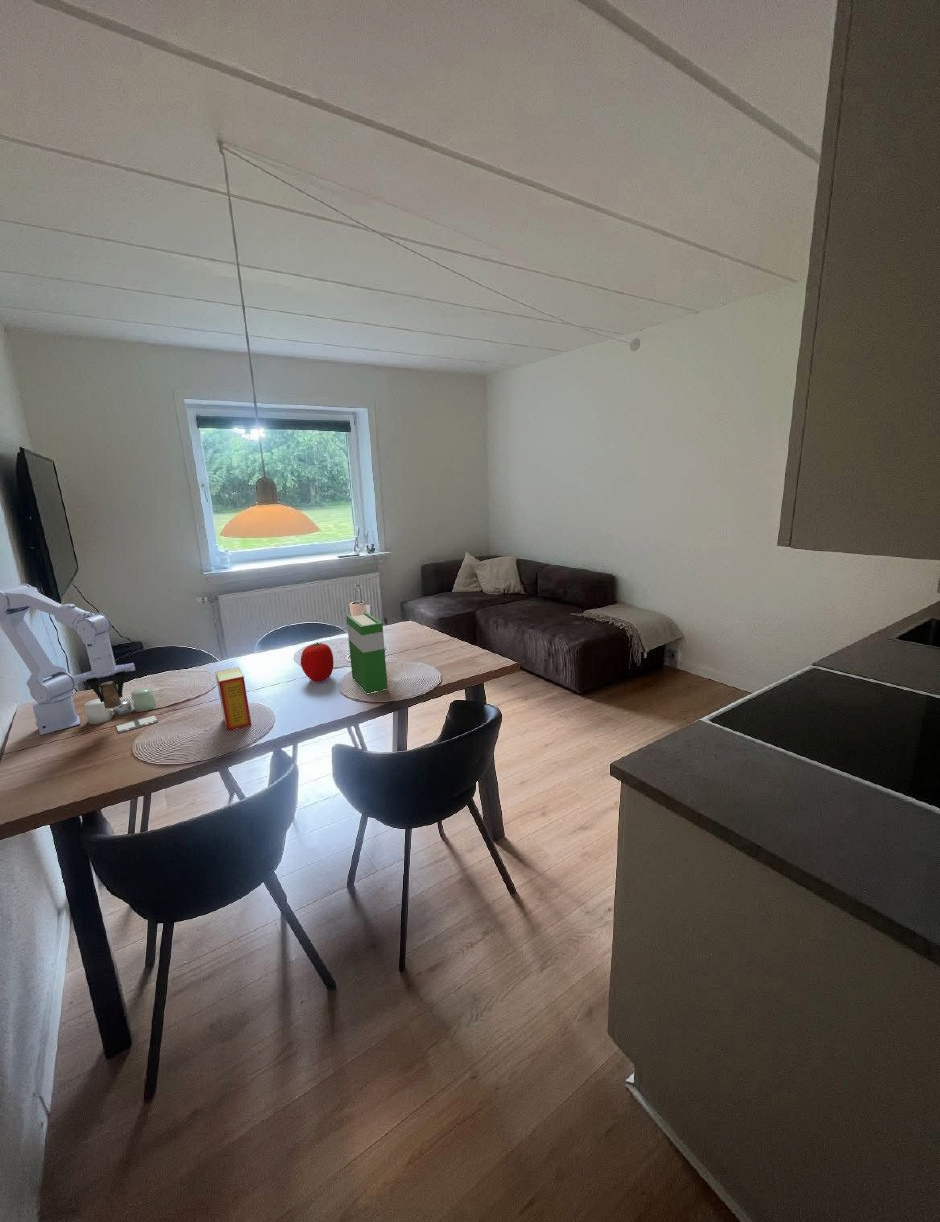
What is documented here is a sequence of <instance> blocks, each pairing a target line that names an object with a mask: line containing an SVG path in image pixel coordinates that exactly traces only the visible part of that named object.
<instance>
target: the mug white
mask: <svg viewBox="0 0 940 1222" xmlns="http://www.w3.org/2000/svg"><path fill="white" fill-rule="evenodd" d="M84 709H85V712H86V718H87V720H88V724H90V725H100V724H102V723H106V722H108V721H110V720H112V719H113V714H112V708H105V706H104V702H101V701H100V699H99V698H95V699H92V700H89V701H87V702H85V704H84Z"/></svg>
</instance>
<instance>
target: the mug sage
mask: <svg viewBox="0 0 940 1222" xmlns="http://www.w3.org/2000/svg"><path fill="white" fill-rule="evenodd" d="M130 694H131V695H130V696H131V700H132V703H133V708H134V711H135V712H137V713H141V712H148V711H150V710H152V709H154V708H155V707H157V702H156V698H155V694H154V689H153V687H150V686H145V687H139V688H137V689H135V690H133V691H131V693H130Z"/></svg>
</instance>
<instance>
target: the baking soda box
mask: <svg viewBox="0 0 940 1222" xmlns="http://www.w3.org/2000/svg"><path fill="white" fill-rule="evenodd" d="M214 673H215V677H216V683H217V688H218V689H217V690H218V694H219V696H218V697H219V701H220V707H221V713H222V717H223V721H224V725H225V727H226V730H227V732H230V731H229V730H231V731H234V730H233V729H235V730H237V729H236V728H238V729H242V728H245V726H246V727H249V726H248V725H250V726H252V719H251V713H250V706H249V701H248V695H247V689H246V681H245V677H244V674H243V672H242V671H241V668H240V667H239V666H237V667H233V668H232V667H231V668H227V669H224V670H217V671H215V672H214Z"/></svg>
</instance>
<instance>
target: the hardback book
mask: <svg viewBox="0 0 940 1222" xmlns="http://www.w3.org/2000/svg"><path fill="white" fill-rule="evenodd" d="M345 619H346V626H347V636H348V637H347V638H348V645H349V646H348V647H349V658H350V667H351V668H350V669H351V677H352V679H353V680H354V679H355V680H354V681H355V683H356V682H357V683H358V684H359V685H360V686H361V687H362V688H363V690H364V691H365V692H366V693H371V692H374V691H381V690H383V689H387V688H389V686H388V685H389V684H388V676H387V664H386V663H387V661H386V652H385V649H386V648H385V640H384V639H385V637H384V624H383V622H381V621H380V620H378V619H377V618H376V617H374V616H372V615H371V614H370V613H368V612H367V611H365V612H363V614H361V615H355V616H351V615H350V614H346V617H345ZM357 683H356V684H357ZM358 684H357V685H358ZM359 685H358V686H359ZM360 686H359V687H360ZM361 687H360V688H361ZM362 688H361V689H362ZM363 690H362V691H363ZM364 691H363V692H364ZM365 692H364V693H365ZM381 692H382V691H381ZM366 693H365V694H366Z"/></svg>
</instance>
